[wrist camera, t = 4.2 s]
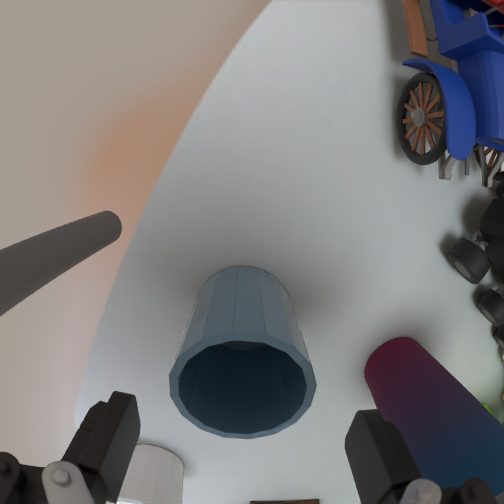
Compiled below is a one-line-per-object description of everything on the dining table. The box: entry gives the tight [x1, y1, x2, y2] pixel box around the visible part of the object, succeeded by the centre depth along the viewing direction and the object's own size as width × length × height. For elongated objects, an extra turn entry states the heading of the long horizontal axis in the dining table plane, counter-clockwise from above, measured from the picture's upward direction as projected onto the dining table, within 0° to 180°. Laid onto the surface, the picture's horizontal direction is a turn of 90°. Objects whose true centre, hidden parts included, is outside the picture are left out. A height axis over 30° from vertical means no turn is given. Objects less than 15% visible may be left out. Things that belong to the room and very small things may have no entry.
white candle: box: [106, 444, 184, 504], centre depth 20 cm, size 7×7×7 cm
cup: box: [365, 337, 504, 504], centre depth 14 cm, size 7×7×15 cm
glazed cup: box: [169, 266, 317, 439], centre depth 15 cm, size 6×6×8 cm
